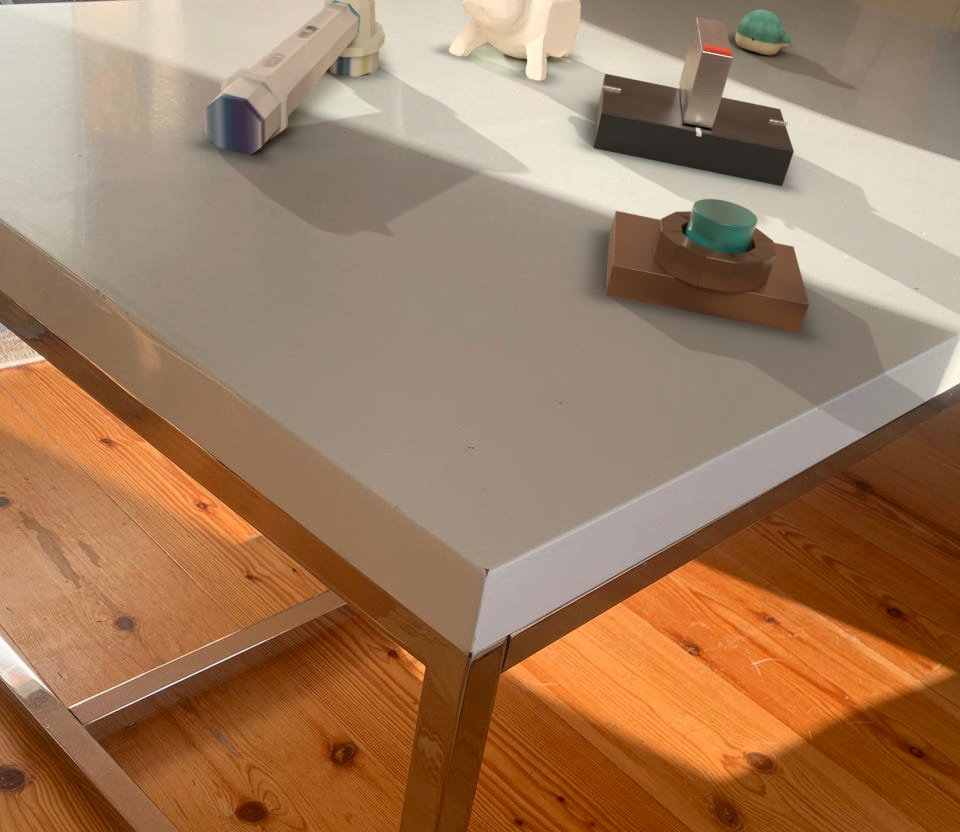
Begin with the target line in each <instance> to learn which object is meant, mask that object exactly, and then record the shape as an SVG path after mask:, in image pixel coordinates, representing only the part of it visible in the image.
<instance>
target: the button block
mask: <svg viewBox="0 0 960 832" xmlns="http://www.w3.org/2000/svg"><path fill="white" fill-rule="evenodd" d="M691 211H692V210H689V211H687V210H686V211H684V210H683V211H673V212H672V213H670V214H668V215H666V216H664V217H662V218H661V219H659V218H655V217H649V216H645V215H638V214H634V213H628V212H624V211H619V210H615V212H614V215H613V220H612V222H611V223H612V224H611V227H610V231H609V235H608V244H607V245H608V246H607V259H606V260H607V262H606V281H605V283H606V284H605V296H609V297H615V298H621V299H625V300H631V301H635V302H641V303H646V304H651V305H656V306H660V307H664V308H670V309H675V310H680V311H685V312H691V313H695V314H700V315H705V316H711V317H714V318H719V319H726V320H730V321H736V322H741V323H746V324H750V325H755V326H760V327H765V328H769V329H775V330H779V331H785V332H790V333H795V334H799V332H800V329H801V327H802V325H803V322H804V319H805V316H806V314H807V311H808V309H809V306H810V303H809V299H808V295H807V291H806V288H805V284H804V280H803V276H802V273H801V269H800V264H799V261H798V258H797V254H796V250H795V247H794V246H793V245H788V244H782V243H778V242H775V241H774V240H773V239H771V238H770V237H769V236H768V235H766V234H765V233H764V232H763V231H761V230H760V229H758V228H757V227H755V230H754V233H753V237H752V240H751V243H750V246H749V249H748V251H747V252H746V253H728V252H723V251H718V250H713V249H710V248H707V247H705V246H703V245H700V244H698V243H696V242H693V241H692V240H690V239H689V238H688V237H687V236H686V235H685V232H686V229H687V225H688V222H689V218H690V215H691Z"/></svg>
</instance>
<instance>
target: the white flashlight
mask: <svg viewBox="0 0 960 832" xmlns="http://www.w3.org/2000/svg"><path fill="white" fill-rule="evenodd" d="M385 38H386V34H385V31H384V27H383V25H382V24H381V23H380V22H377V21H376V1H375V0H323V9H321V10H320V11H319V12H318V13H316V14H315V15H314V16H312V17H311V18H310V19H309V20H308V21H307V22H306V23H304V24H303V25H302V26H301V27H299V28H298V29H297V30H295V31H294V32H293V33H292V34H290V35H289V36H287V38H285V39H284V40H283V41H282V42H280V43H279V44H278V45H276V46H275V47H274V48H273V49H272V50H271V51H269V52H268V53H267V54H266V55H264V56H263V57H261V58H260V59H259V60H258V61H257V62H255V63H254V64H253V65H252V66H251V67H249V68H246V67H242V66H241V67H240V68H239V69H238V70H236V71H235V72H233V73H232V75H231V76H229V77H228V78H227V79H226V80H224V81H223V82H222V83H220V93H219V94H218V95H217V96H216V97H215V98H214V99H213V100H212V101H211V102H210V103H209V104H208V105H207V106H206V107H205V108H203V117H204V119H203V120H204V134H205V135H206V136H207V137H208V139H209V140H210V141H211V142H212V144H213V145H214V146H215V147H216V148H220V149H223V150H227V151H231V152H234V153H239V154H243V155H247V156H252V155H253V154H255V153H256V152H257V151H259V150H260V149H261V148H262V147H263V146H264V145H265V144H266V142H268V141H269V140H272V139H274V138H275V137H276V136H277V135H279V134H280V133H282V132H283V131H285V130H286V129H287V128H288V127H289V116H290V115H291V114H292V113H293V111H295V109H296V108H297V107H298V106H299V105H300V104H301V102H302V101H303V100H304V99H305V97H306V96H307V95H308V94H309V92H311V90H312V89H313V88H314V87H315V85H317V83H318V81H320V79H322V77H323V76H324V75H325V73H326V72H327V73H330V74H334V75H339V76H342V77H361V76H364V75H366V74H369V75H373V74H374V73H376V72H377V71H378V69H379V60H380V59H379V57H380V50H381V48H382V47H383V46H384V44H385Z"/></svg>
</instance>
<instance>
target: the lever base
mask: <svg viewBox="0 0 960 832" xmlns="http://www.w3.org/2000/svg"><path fill="white" fill-rule="evenodd" d="M788 125H789V123H788V122H787V121H785V119H784V117H783V114H782V111H781V108H777V107H771V106H766V105H762V104H757V103H752V102H747V101H743V100H737V99H732V98H727V97H723V96H722V98H721V101H720V105H719V108H718V112H717V115H716V119H715V122H714V126H713V128H712V129H710V128H705V127H700V126H695V125H690V124H685V123H683V117H682V107H681V96H680V87H679V88H678V87H673V86H668V85H664V84H660V83H659V84H658V83H654V82H649V81H643V80H639V79H634V78H628V77H624V76H620V75H614V74H609V73H605V74H604V77H603V82H602V85H601V90H600V96H599V98H598V105H597V110H596V119H595V128H594V141H593V149H596V150H600V151H605V152H609V153H614V154H618V155H619V154H620V155H625V156H630V157H635V158H639V159H645V160H648V161H649V160H650V161H654V162H659V163H665V164H669V165H670V164H671V165H674V166H679V167H683V168H689V169H695V170H698V171H704V172H708V173H714V174H718V175H724V176H729V177H732V178H738V179H743V180H747V181H752V182H753V181H754V182H758V183H763V184H768V185H772V186H779V187H783V186H784V185H783V184H784V182H785V179H786V176H787V173H788V170H789V168H790V164H791V161H792V159H793V156H794V152H795V151H794V148H793V145H792V144H793V143H792V141H791V137H790V135H789V132H788V128H787V126H788Z"/></svg>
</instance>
